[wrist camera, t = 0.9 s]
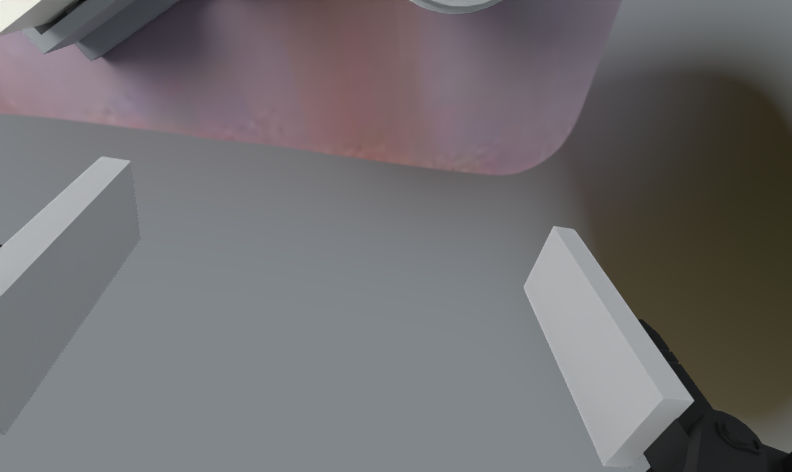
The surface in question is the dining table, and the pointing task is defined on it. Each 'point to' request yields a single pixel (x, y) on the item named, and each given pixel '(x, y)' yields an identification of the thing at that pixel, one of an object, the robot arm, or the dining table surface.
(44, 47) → the key panel
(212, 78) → the dining table surface
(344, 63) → the dining table surface
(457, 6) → the disposable coffee cup
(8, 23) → the cream key
